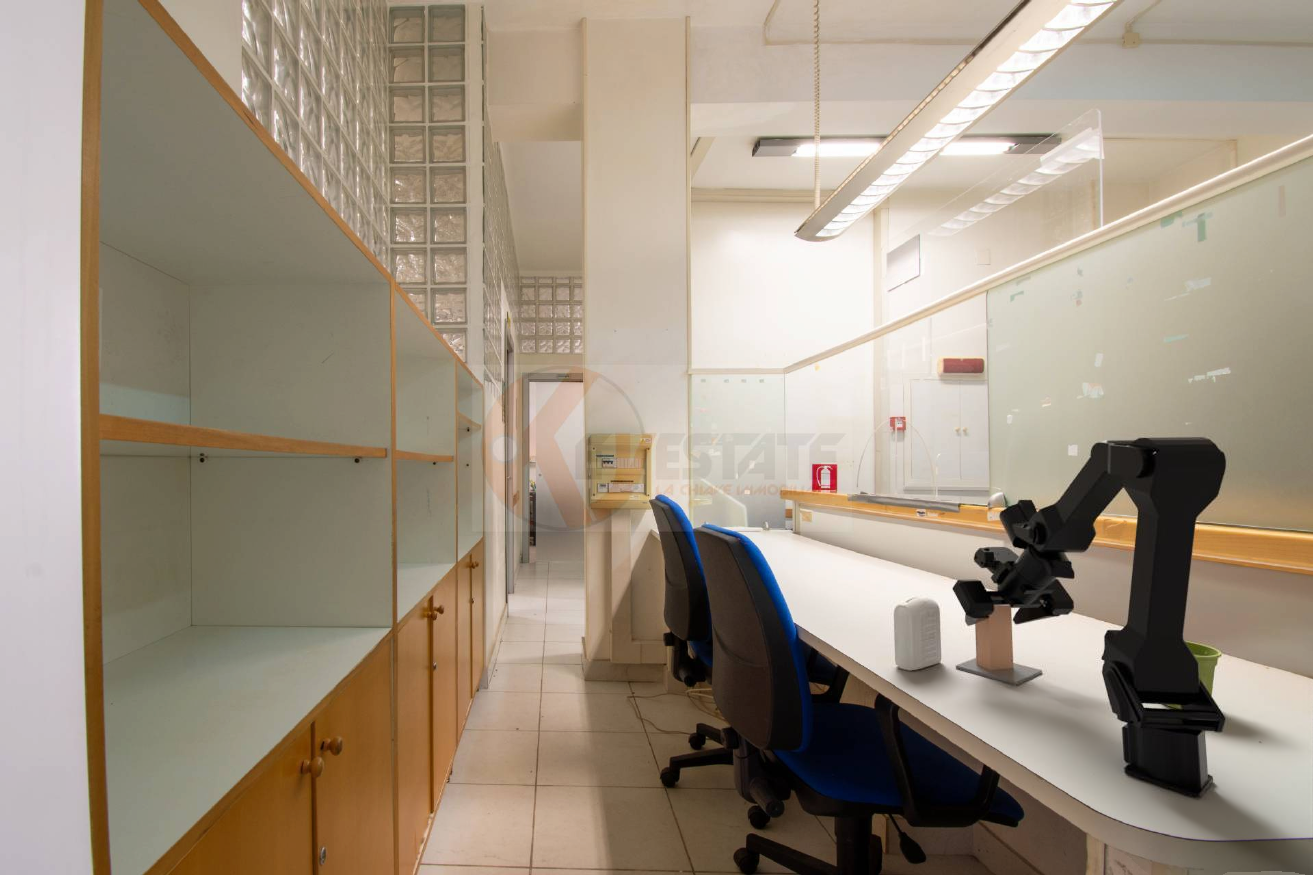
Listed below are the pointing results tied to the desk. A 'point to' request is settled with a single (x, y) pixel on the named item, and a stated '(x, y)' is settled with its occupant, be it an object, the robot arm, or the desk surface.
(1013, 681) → the pad
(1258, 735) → the desk surface
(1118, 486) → the robot arm
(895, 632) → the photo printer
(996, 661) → the tan rectangular block
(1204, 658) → the plant pot
